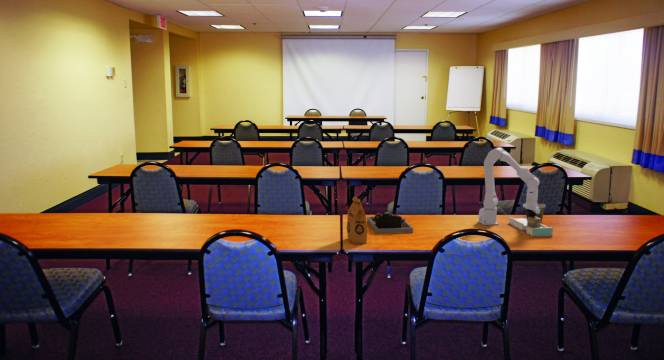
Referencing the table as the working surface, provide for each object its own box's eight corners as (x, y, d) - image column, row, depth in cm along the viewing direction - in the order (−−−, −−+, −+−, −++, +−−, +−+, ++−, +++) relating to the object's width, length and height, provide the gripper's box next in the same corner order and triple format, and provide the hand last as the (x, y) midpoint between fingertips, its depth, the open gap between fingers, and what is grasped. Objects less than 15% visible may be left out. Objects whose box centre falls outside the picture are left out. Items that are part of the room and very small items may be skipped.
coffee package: (349, 245, 256) (350, 202, 251) (345, 237, 268) (346, 196, 264) (369, 244, 257) (370, 201, 253) (364, 237, 269) (364, 196, 265)
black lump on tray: (403, 225, 291) (404, 208, 289) (405, 232, 278) (405, 214, 277) (372, 225, 292) (372, 208, 290) (372, 231, 280) (372, 213, 278)
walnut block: (531, 228, 278) (532, 219, 278) (527, 225, 283) (527, 216, 282) (540, 227, 279) (541, 218, 278) (535, 225, 284) (536, 216, 283)
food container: (520, 217, 310) (521, 201, 308) (525, 216, 314) (526, 200, 312) (539, 221, 301) (541, 205, 299) (544, 220, 305) (546, 203, 303)
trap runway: (533, 236, 272) (533, 228, 271) (508, 222, 298) (509, 215, 297) (552, 235, 273) (553, 227, 272) (526, 222, 299) (527, 214, 298)
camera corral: (377, 233, 275) (377, 229, 274) (367, 220, 300) (367, 216, 300) (412, 232, 278) (413, 228, 277) (400, 219, 303) (400, 215, 302)
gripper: (545, 201, 276) (543, 226, 279) (531, 196, 290) (529, 219, 293) (533, 202, 275) (531, 226, 278) (520, 196, 289) (518, 219, 292)
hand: (529, 222), depth 285 cm, fingers closed
